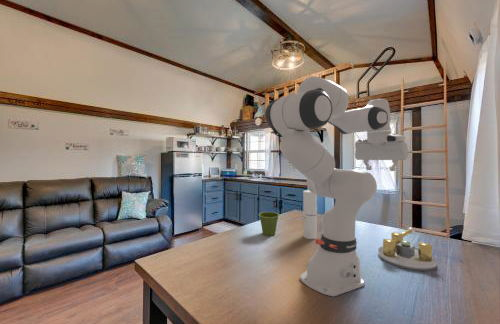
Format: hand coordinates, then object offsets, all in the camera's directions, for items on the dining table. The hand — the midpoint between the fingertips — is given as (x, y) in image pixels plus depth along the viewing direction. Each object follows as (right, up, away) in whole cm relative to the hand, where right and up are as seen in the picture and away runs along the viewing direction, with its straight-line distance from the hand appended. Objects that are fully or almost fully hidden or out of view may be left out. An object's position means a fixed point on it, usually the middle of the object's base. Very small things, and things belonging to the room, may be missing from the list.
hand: (380, 170), depth 96 cm
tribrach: (+10, -38, -1) cm, 39 cm away
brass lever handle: (+17, -35, +10) cm, 40 cm away
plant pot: (-45, -38, +31) cm, 67 cm away
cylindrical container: (-23, -38, +26) cm, 51 cm away
